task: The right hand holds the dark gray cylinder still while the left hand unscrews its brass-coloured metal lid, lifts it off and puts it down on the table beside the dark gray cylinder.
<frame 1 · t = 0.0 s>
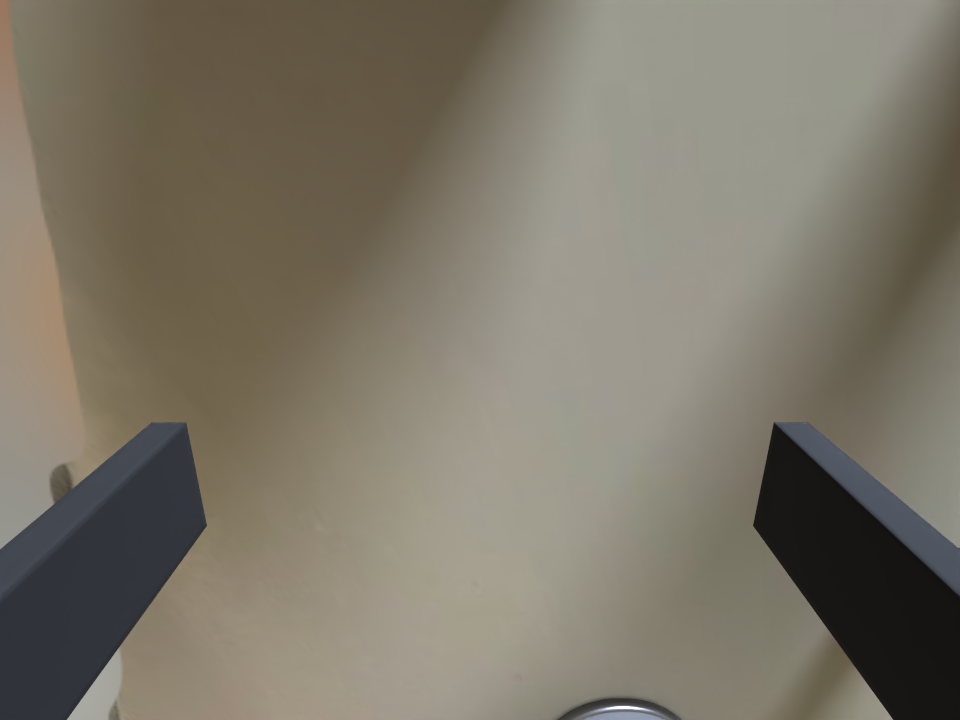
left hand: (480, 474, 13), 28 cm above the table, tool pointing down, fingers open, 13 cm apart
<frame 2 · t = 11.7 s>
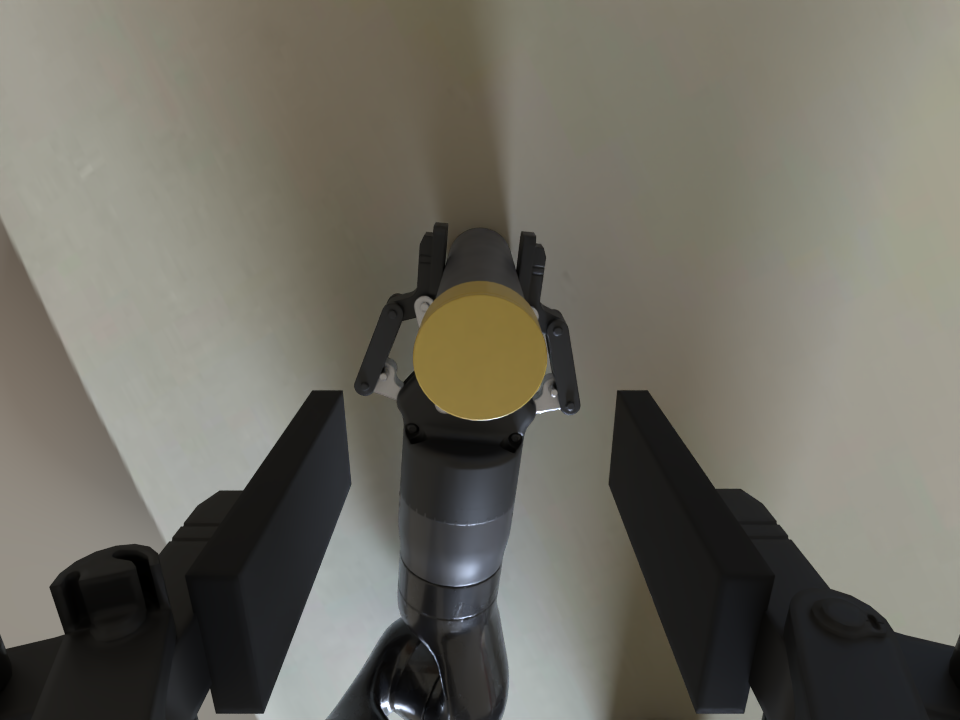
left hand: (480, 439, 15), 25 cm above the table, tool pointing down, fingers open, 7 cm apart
right hand: (484, 230, 31), fingers closed on dark gray cylinder, 4 cm apart
lid: (480, 357, 20), point 19 cm above the table, screwed on, not yet turned
dark gray cylinder: (479, 259, 38), on the table, touching right hand
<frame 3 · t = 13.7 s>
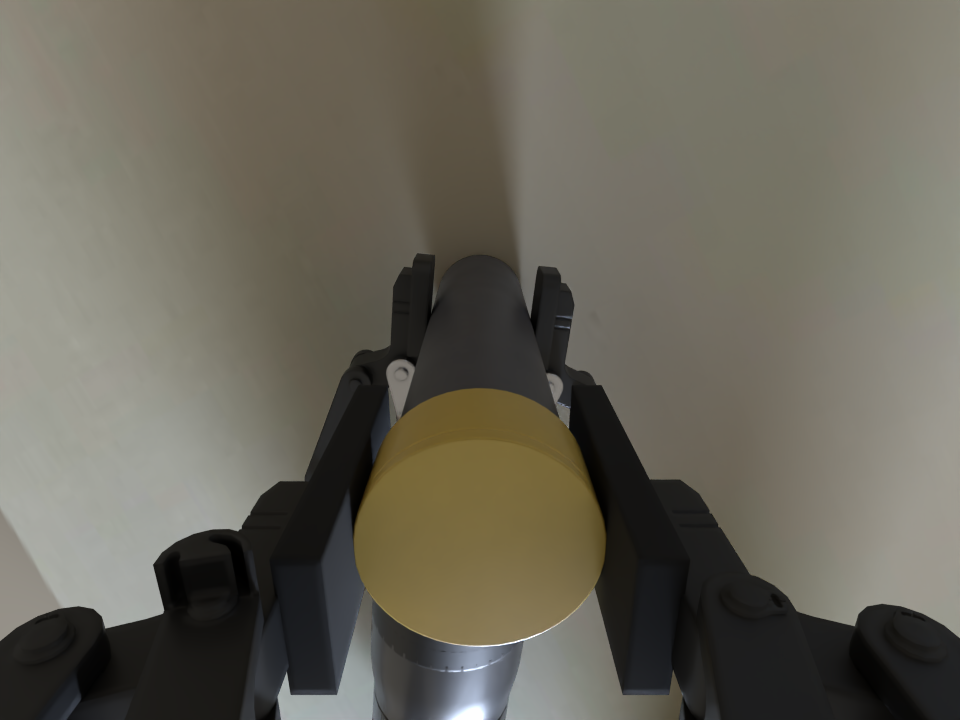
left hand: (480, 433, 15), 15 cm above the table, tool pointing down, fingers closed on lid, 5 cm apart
lid: (479, 538, 11), point 19 cm above the table, screwed on, not yet turned, touching left hand
dark gray cylinder: (479, 296, 28), on the table, touching right hand
when the left hand's fingers open (0 cm above the table, at t = 24.4 s): lid drops 2 cm, point 2 cm above the table.
when the right hand's fingers open (6 cm above the table, at t = 25.0 s): dark gray cylinder stays where it is, on the table.
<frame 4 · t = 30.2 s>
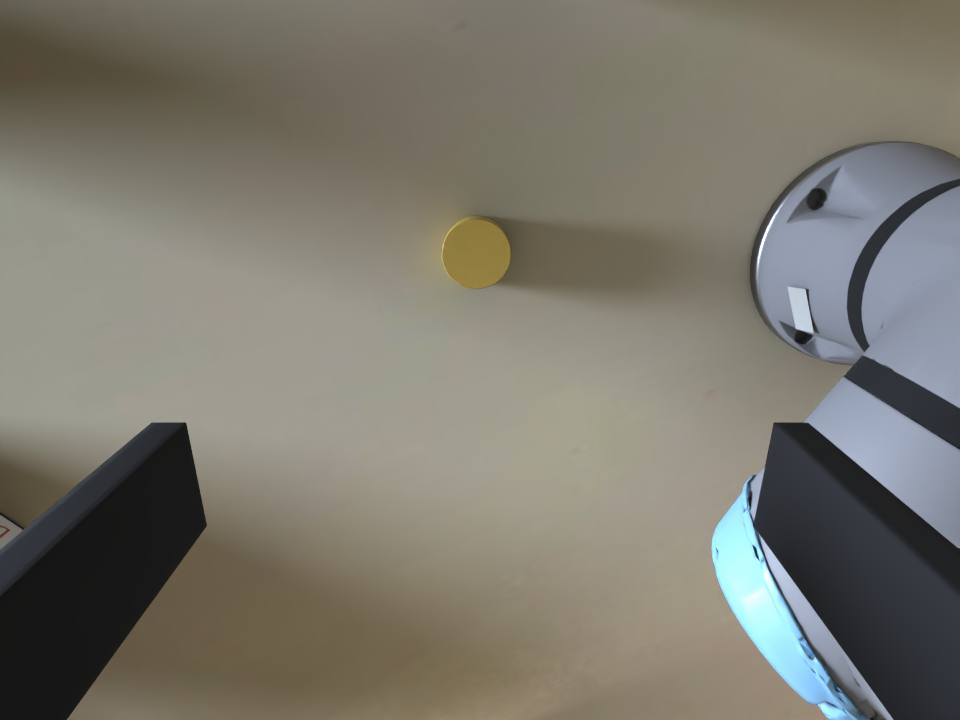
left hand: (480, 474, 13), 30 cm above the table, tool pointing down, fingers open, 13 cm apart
lid: (476, 253, 39), point 2 cm above the table, off its thread
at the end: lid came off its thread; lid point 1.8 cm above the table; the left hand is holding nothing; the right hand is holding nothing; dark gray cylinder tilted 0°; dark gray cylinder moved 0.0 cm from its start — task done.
